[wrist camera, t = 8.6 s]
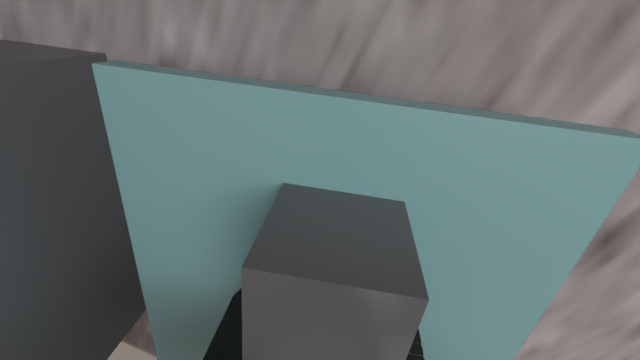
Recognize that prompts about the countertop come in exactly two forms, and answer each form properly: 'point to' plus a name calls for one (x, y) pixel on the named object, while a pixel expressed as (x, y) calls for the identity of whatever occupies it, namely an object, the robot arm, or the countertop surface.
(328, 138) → the lid
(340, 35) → the countertop surface
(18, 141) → the storage box
